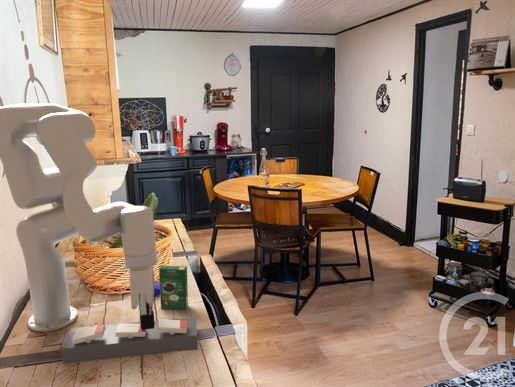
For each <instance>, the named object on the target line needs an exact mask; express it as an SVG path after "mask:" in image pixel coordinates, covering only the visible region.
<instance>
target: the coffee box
mask: <svg viewBox="0 0 515 387" xmlns="http://www.w3.org/2000/svg"><path fill="white" fill-rule="evenodd" d="M158 274H159V281H160V294H159V296H160V309H161V310H178V311H182V310H185V311H187V310H188V307H189V293H188V288H189V287H188V266H184V265H183V266H182V265H162V264H161V265H160V267H159V269H158Z"/></svg>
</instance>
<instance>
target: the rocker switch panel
mask: <svg viewBox="0 0 515 387" xmlns="http://www.w3.org/2000/svg"><path fill="white" fill-rule="evenodd" d="M168 320H186V321H187V332H186V333H174V334H173V335H171V334H170V332H158V324H159V319H157V320H154V321H155V325H154V328H153V329H146V335H145V337H133V338H132V339H129V338H128V337H116V329H117V326H118V324H119V323H117V324H116V323H115V324H114V323H113V324H105V327H106V329H105V332H104V335H103V337H101V338H97V339H93V340H91V342H90V343H87V342H86V341H85V342H81V343H77V344H73V342H72V339H73V337H74V334H75V332H76V331H78V330H82V329H86V328H90V327H94V326H95V325H91V326H85V327H84V326H82V327H73V328H71V327H70V328H69V331H68V333H67V335H66V338H65V339H64V341H63V344H62V346H61V348H60V352H61V360H62V364H72V363H82V362H90V361H91V362H92V361H98V360H99V361H100V360H110V359H118V358H119V359H120V358H127V357H128V358H129V357H138V356H146V355H148V356H149V355H158V354H168V353H177V352H178V353H179V352H187V351H196V350H197V351H198V350H199V348H198V346H199V343H198V327H197V316H191V317H180V318H169V319H168ZM123 324H140V321H135V322H126V323H125V322H123Z"/></svg>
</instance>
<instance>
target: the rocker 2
mask: <svg viewBox="0 0 515 387" xmlns="http://www.w3.org/2000/svg"><path fill="white" fill-rule="evenodd" d="M117 324H118V326H117V329H116V337H128V338H129V339H132V338H133V337H145V335H146V329H145V330H142V329H141V324H124V323H117Z"/></svg>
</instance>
